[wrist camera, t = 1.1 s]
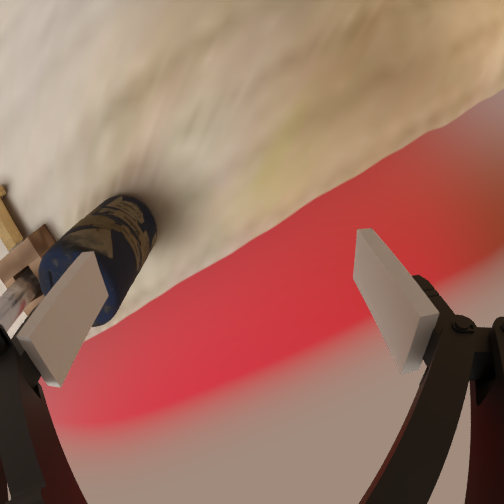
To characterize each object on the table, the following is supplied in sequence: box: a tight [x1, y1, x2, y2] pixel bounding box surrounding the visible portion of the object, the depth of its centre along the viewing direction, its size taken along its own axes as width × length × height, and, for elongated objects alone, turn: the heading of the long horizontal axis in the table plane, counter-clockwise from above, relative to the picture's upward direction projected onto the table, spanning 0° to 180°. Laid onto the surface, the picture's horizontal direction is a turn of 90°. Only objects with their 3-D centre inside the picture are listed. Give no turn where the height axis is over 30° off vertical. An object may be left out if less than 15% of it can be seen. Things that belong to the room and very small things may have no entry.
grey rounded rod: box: [0, 267, 41, 332], centre depth 37 cm, size 4×4×16 cm
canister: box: [38, 196, 157, 327], centre depth 33 cm, size 10×10×18 cm
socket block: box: [0, 224, 56, 317], centre depth 42 cm, size 12×12×5 cm
